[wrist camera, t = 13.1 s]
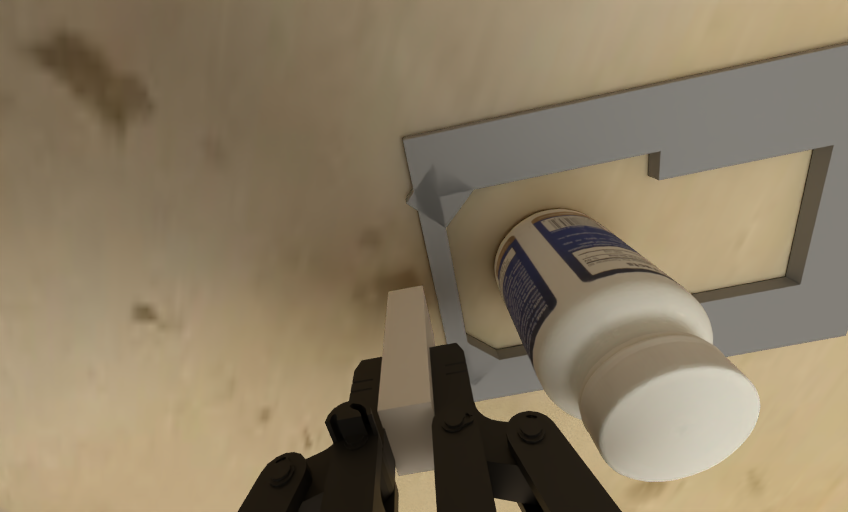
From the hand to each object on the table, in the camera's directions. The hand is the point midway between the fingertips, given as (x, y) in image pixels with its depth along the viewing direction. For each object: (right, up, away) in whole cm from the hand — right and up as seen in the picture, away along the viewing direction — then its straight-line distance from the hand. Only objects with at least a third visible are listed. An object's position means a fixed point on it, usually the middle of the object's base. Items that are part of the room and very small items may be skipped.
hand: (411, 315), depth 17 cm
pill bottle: (+6, +2, +2) cm, 7 cm away
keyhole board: (+11, +3, +1) cm, 11 cm away
